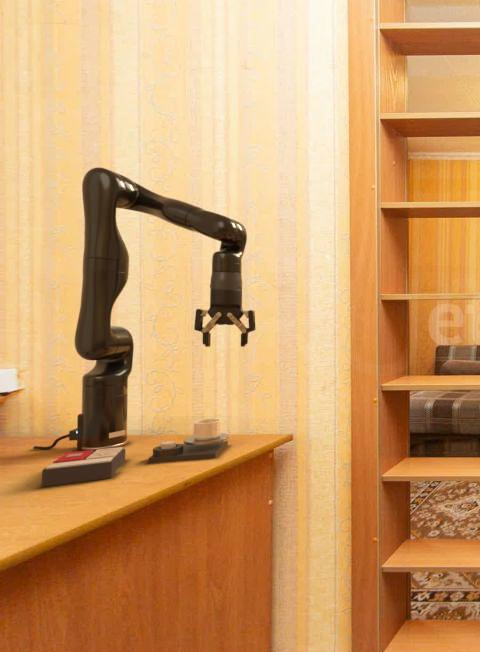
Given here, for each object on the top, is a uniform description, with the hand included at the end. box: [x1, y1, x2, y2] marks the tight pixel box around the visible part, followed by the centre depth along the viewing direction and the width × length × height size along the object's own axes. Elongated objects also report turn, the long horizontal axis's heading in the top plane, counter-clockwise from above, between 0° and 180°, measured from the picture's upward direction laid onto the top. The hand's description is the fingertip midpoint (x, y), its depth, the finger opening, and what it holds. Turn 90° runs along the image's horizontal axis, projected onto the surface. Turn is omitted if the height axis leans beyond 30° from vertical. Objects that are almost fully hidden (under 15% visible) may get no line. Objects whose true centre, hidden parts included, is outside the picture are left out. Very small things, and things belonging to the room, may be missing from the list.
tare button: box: [160, 440, 177, 449], centre depth 111 cm, size 3×3×2 cm
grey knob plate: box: [148, 440, 229, 464], centre depth 115 cm, size 14×12×3 cm
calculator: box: [41, 446, 126, 488], centre depth 100 cm, size 11×4×15 cm
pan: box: [183, 432, 230, 445], centre depth 118 cm, size 10×10×1 cm
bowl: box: [193, 418, 222, 440], centre depth 118 cm, size 6×6×4 cm
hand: (225, 346), depth 123 cm, fingers open, 8 cm apart
